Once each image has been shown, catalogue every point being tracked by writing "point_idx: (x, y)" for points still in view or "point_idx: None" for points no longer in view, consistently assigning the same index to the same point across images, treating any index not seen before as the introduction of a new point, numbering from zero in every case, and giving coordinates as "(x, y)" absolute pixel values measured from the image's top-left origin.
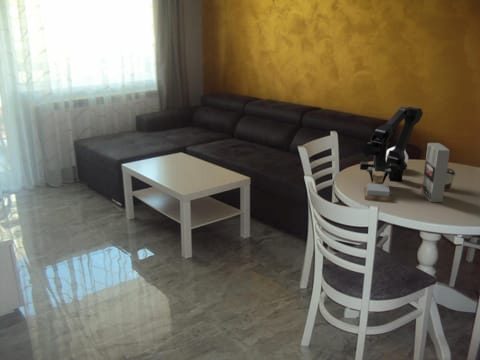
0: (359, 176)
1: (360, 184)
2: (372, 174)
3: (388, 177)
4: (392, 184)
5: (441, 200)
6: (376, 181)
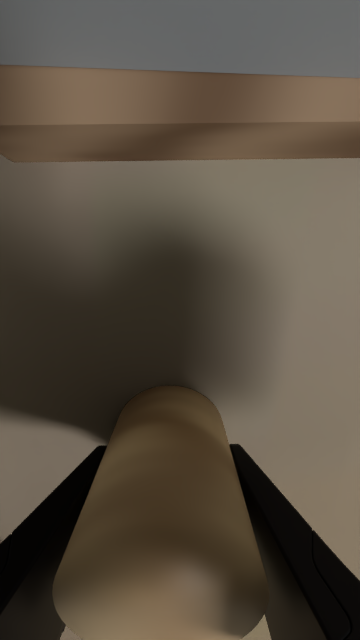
0: None
1: (354, 403)
2: (317, 617)
3: None
4: (15, 470)
5: None
6: (188, 431)
